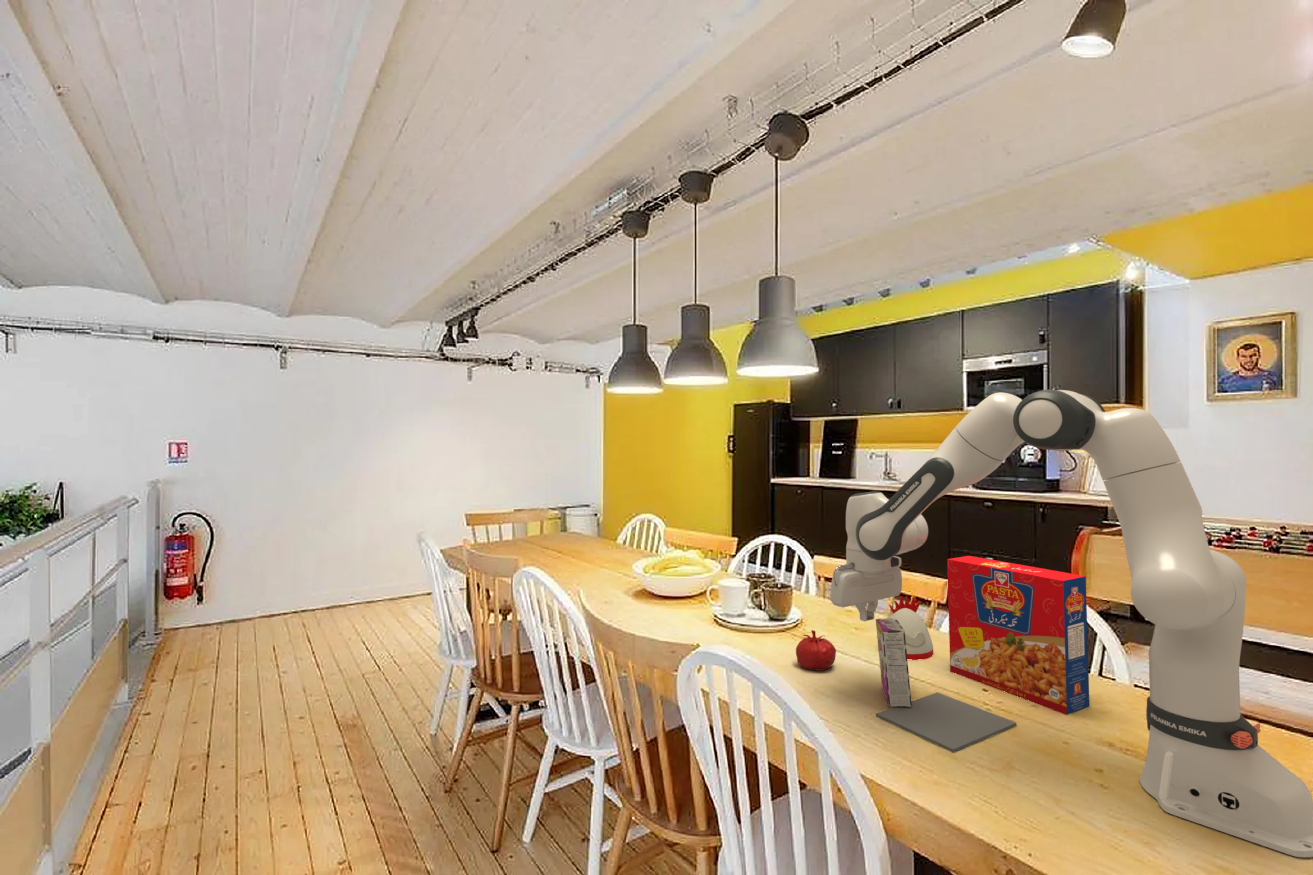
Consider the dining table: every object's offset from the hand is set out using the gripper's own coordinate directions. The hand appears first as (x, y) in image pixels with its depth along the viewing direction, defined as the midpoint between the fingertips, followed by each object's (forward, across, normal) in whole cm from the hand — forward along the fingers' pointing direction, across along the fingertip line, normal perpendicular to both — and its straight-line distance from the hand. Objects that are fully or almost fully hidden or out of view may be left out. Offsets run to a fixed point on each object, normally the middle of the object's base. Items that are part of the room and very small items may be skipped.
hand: (867, 619), depth 145 cm
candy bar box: (+16, 0, -8) cm, 18 cm away
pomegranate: (+17, 0, +17) cm, 24 cm away
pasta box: (+16, +28, -18) cm, 37 cm away
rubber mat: (+16, 0, -20) cm, 25 cm away
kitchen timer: (+16, +28, +12) cm, 35 cm away
